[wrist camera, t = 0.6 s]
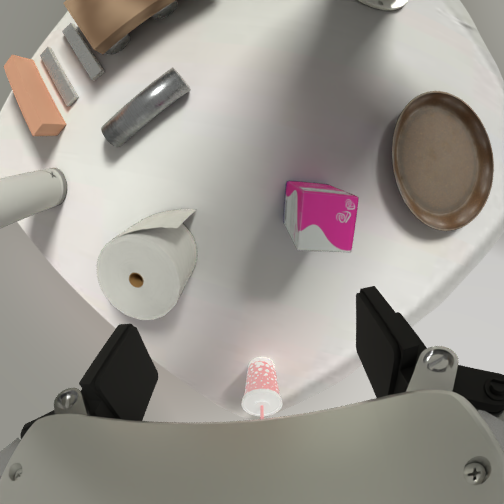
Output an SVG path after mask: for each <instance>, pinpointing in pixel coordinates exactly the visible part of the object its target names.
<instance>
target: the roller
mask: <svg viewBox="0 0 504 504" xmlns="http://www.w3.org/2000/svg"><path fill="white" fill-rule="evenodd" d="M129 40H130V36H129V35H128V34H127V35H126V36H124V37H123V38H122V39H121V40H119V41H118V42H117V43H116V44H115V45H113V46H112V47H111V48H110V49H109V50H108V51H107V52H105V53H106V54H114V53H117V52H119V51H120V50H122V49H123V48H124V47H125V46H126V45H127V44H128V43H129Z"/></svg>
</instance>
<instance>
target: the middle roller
mask: <svg viewBox="0 0 504 504" xmlns="http://www.w3.org/2000/svg"><path fill="white" fill-rule="evenodd" d="M176 7H177V1H174V2H173V3H171V4H169V5H168V6H166V7H165V8H163V9H162V10H160V11H159V12H157V13H156V14H154V15H153V16H151V17H152V18H153V19H162V18H164V17H166V16H168V15H170V14H171V13H172V12H173V11H174V10H175V9H176Z"/></svg>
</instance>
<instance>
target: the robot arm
mask: <svg viewBox="0 0 504 504" xmlns="http://www.w3.org/2000/svg"><path fill="white" fill-rule="evenodd" d="M358 1H360V2H362V3H363V4H366V5H368V6H370V7H373V8H377V9H381V10H397V9H399V8H401V7H403V6H404V5H405V4H406V3H407V2H408V0H358ZM356 349H357V353H358V355H359V358H360V360H361V362H362V365H363V367H364V369H365V371H366V374H367V376H368V378H369V380H370V383H371V385H372V388H373V390H374V392H375V395H376V397H377V398H376V399H371V400H367V401H363V402H358V403H354V404H349V405H345V406H341V407H336V408H331V409H325V410H320V411H315V412H309V413H303V414H297V415H291V416H283V417H275V418H266V419H256V420H245V421H230V422H206V423H173V422H172V423H171V422H170V423H169V422H147V421H142V420H143V417H144V414H145V411H146V409H147V406H148V403H149V401H150V398H151V396H152V392H153V390H154V388H155V385H156V383H157V380H158V372H157V370H156V368H155V366H154V364H153V362H152V360H151V358H150V356H149V354H148V351H147V349H146V347H145V345H144V343H143V341H142V339H141V336H140V334H139V332H138V330H137V328H136V327H134V326H133V325H132V324H121V325H118V327H117V328H116V329H115V331H114V332H113V334H112V335H111V337H110V338H109V339H108V341H107V342H106V344H105V345H104V347H103V348H102V349H101V351H100V352H99V354H98V355H97V357H96V358H95V360H94V361H93V363H92V364H91V366H90V367H89V369H88V370H87V372H86V373H85V375H84V376H83V378H82V379H81V381H80V383H79V384H80V385H81V387H82V390H81V391H80V390H79V389H77V388H68V389H66V390H64V391H62V392H61V393H60V394H58V396H57V397H56V398H55V401H54V410H53V411H51V412H49V413H48V414H45V415H44V416H41V417H40V418H37V419H35V420H33V421H31V422H29V423H27V424H25V425H24V427H23V429H22V432H21V440H20V439H19V438H17V439H16V440H14V441H13V442H12V443H11V444H9V445H8V446H7V447H6V448H4V449H3V450H2V451H1V452H0V504H504V375H502V374H499V373H494V372H489V371H484V370H479V369H474V368H470V367H465V366H461V365H458V357H457V355H456V354H455V353H454V352H453V351H452V350H451V349H449V348H446V347H442V346H434V347H430V348H426V346H425V345H424V344H423V342H422V341H421V340H420V338H419V337H418V335H417V334H416V333H415V332H414V330H413V329H412V328H411V326H410V325H409V324H408V322H407V321H406V320H405V319H404V317H403V316H402V315H401V314H400V313H398V312H397V313H395V311H394V310H393V309H392V308H391V306H390V305H389V304H388V302H387V301H386V300H385V299H384V297H383V296H382V295H381V294H380V292H379V291H378V290H377V289H376V287H375V286H372V287H367V288H363V289H361V290H360V293H357V294H356Z"/></svg>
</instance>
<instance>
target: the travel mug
mask: <svg viewBox="0 0 504 504" xmlns="http://www.w3.org/2000/svg"><path fill="white" fill-rule="evenodd" d="M66 192H67V182H66V179H65V176H64V174H63V173H62V172H61V171H60V170H59V169H57V168H49V169H44V170H38V171H33V172H28V173H23V174H18V175H14V176H9V177H5V178H1V179H0V229H1V228H3V227H5V226H8V225H10V224H12V223H14V222H17V221H19V220H22V219H24V218H27V217H29V216H31V215H34V214H37V213H39V212H42V211H44V210H47V209H50V208H52V207H55V206H58V205H60V204H61V203H62V202H63V200H64V198H65V196H66Z"/></svg>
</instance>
